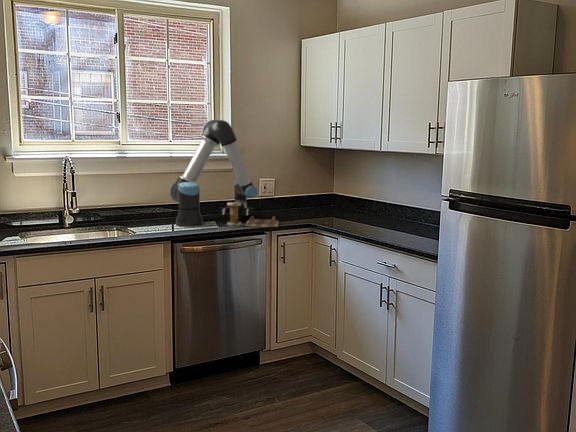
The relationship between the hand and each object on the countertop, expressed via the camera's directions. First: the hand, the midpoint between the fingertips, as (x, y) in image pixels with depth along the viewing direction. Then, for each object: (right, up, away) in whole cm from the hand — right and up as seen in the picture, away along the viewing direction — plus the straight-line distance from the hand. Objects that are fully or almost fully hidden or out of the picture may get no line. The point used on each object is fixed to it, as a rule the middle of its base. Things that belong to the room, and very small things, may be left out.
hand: (235, 212), depth 337 cm
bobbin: (-1, -7, +2) cm, 7 cm away
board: (+15, -7, +3) cm, 17 cm away
